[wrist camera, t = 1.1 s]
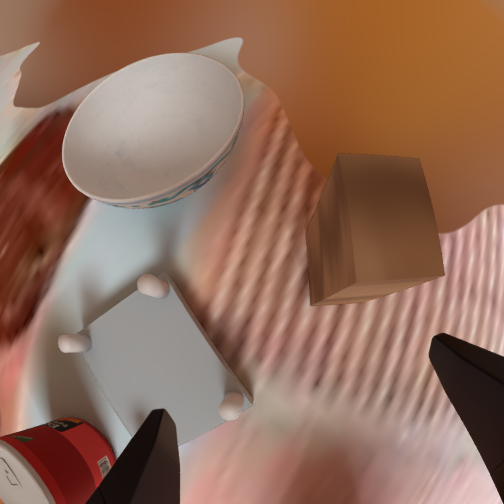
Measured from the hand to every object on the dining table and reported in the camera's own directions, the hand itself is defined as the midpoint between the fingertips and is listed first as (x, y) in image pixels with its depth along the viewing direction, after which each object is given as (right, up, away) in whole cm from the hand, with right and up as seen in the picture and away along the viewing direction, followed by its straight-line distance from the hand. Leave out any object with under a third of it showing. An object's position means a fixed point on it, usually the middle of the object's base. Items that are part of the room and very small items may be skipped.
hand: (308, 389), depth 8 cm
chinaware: (-9, +13, +19) cm, 24 cm away
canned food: (-18, -15, +12) cm, 26 cm away
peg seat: (-9, -5, +14) cm, 17 cm away
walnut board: (+5, +3, +15) cm, 17 cm away
